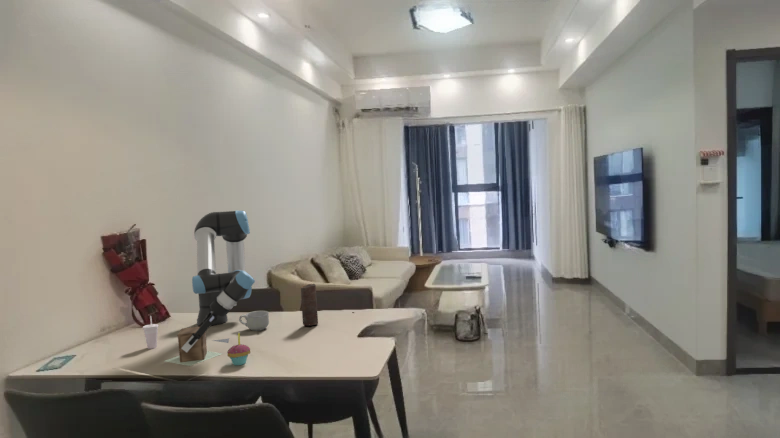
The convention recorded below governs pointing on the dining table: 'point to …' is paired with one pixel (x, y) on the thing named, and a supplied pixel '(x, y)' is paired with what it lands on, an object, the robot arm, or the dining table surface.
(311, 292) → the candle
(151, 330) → the smoothie
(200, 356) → the walnut cover
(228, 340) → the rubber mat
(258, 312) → the teacup
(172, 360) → the green board
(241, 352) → the cupcake
